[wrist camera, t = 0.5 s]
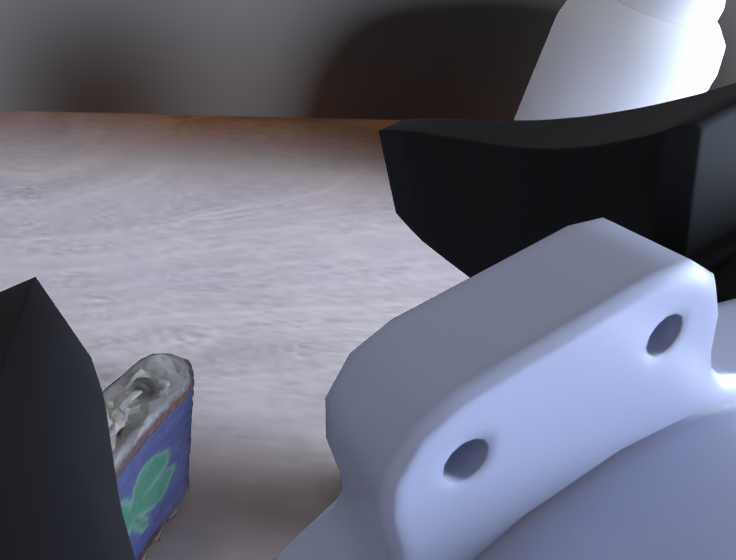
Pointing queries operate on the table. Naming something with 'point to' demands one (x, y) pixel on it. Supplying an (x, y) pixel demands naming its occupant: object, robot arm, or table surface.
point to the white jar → (624, 57)
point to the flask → (151, 443)
